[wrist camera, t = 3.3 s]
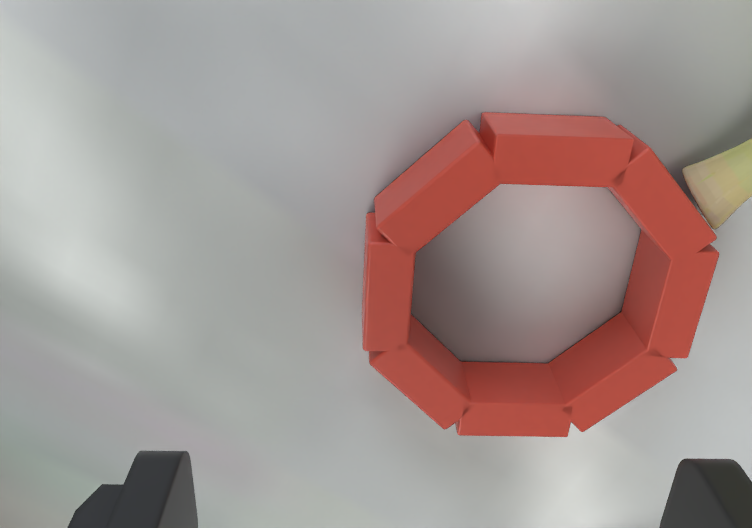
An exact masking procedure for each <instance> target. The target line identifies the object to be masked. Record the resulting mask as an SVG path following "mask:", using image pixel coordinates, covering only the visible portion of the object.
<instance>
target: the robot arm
mask: <svg viewBox="0 0 752 528" xmlns="http://www.w3.org/2000/svg"><path fill="white" fill-rule="evenodd" d="M68 528H198V518H197V509H196V501H195V493H194V485H193V477H192V468H191V461H190V456H189V453H188V452H187V451H140V452H139V453H138V454H137V455H136V457H135V459H134V461H133V464H132V466H131V468H130V471H129V473H128V475H127V478H126V480H125V483H124V485H109V484H102V485H101V486H100V487H99V488H98V489H97V490H96V491H95V492H94V493H93V494H92V495H91V496H90V497H89V498H88V499H87V500H86V501H85V502H84V503H83V504H82V505H81V506H80V507H79V508H78V509H77V510H76V511H75V513H74V515H73V517H72V519H71V521H70V523H69V526H68ZM660 528H752V482H751V480H750V479H749V477H748V476H747V475H746V473H745V472H744V470H743V469H742V468H741V466H740V465H739V464H738V463H737V462H736V461H734V460H731V459H684V460H682V461H681V462H680V464H679V465H678V468H677V471H676V474H675V477H674V480H673V484H672V487H671V490H670V494H669V497H668V500H667V503H666V507H665V510H664V513H663V516H662V520H661V523H660Z"/></svg>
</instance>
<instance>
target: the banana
mask: <svg viewBox="0 0 752 528" xmlns="http://www.w3.org/2000/svg"><path fill="white" fill-rule="evenodd" d="M682 172H683V176H684V179H685V182H686V184H687V186H688V188H689V190H690V192H691V194H692V196H693V198H694V199H695V201H696V203H697V205H698V207H699V208H700V210H701V212H702V214H703V215H704V217H705V218H706V220H707V221H708V223H709V224H710V225H711V227H712V228H713V229H717V228H718V227H719V226H721V225H722V224H723V223H724V222H725V221H726V220H727V219H728V218H729V217H730V216H731V215H732V214H733V213H734V211H735V210H736V209H738V208H739V207H740V206H741V205H742V204H743V203H744V202H745V201H746V200H747V199H748V198H750V197H751V196H752V138H751V139H749V140H747V141H746V142H744V143H742V144H740V145H738V146H736V147H734V148H732V149H729V150H727V151H725V152H722V153H720V154H718V155H715V156H713V157H711V158H708V159H706V160H703V161H701V162H698V163H695V164H692V165H689V166H687V167H685V168H683V170H682Z"/></svg>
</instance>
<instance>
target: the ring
mask: <svg viewBox="0 0 752 528" xmlns="http://www.w3.org/2000/svg"><path fill="white" fill-rule="evenodd" d="M499 184H525V185H556V186H586V187H608V188H609V189H610V191H611V192H612V193H613V194H614V196H615V197H616V198H617V199H618V201H619V202H620V203H621V204H622V206H623V207H624V208H625V209H626V211H627V212H628V213H629V214H630V216H631V217H632V218H633V219H634V221H635V222H636V223H637V224H638V226H639V227H640V228H641V233H640V237H639V242H638V246H637V250H636V254H635V258H634V262H633V266H632V270H631V274H630V278H629V283H628V287H627V291H626V295H625V299H624V303H623V307H622V311H621V312H620V313H619V314H618V315H616V316H615V317H613V318H612V319H610V320H609V321H608V322H606V323H605V324H603V325H602V326H600V327H599V328H598V329H596V330H595V331H593V332H592V333H590V334H589V335H588V336H586V337H585V338H583V339H582V340H580V341H579V342H578V343H576V344H575V345H573V346H572V347H571V348H569V349H568V350H566V351H565V352H563V353H562V354H561V355H559V356H558V357H556V358H555V359H553V360H552V361H551V362H549V363H507V362H461V361H460V360H459V359H458V358H456V357H455V356H454V355H453V354H452V353H451V352H450V351H449V350H448V349H447V348H446V347H445V346H444V345H443V344H442V343H441V342H440V341H439V340H438V339H436V338H435V337H434V336H433V335H432V334H431V333H430V332H429V331H428V330H427V329H426V328H425V327H424V326H423V325H422V324H421V323H420V322H419V321H417V320H416V319H415V318H414V317H413V316H412V315H411V305H412V293H413V280H414V268H415V255H416V252H417V251H418V250H420V249H421V248H422V247H423V246H425V245H426V244H427V243H428V242H429V241H431V240H432V239H433V238H434V237H436V236H437V235H438V234H439V233H440V232H442V231H443V230H444V229H445V228H447V227H448V226H449V225H450V224H451V223H453V222H454V221H455V220H456V219H458V218H459V217H460V216H461V215H463V214H464V213H465V212H466V211H467V210H469V209H470V208H471V207H472V206H474V205H475V204H476V203H477V202H478V201H480V200H481V199H482V198H483V197H485V196H486V195H487V194H488V193H490V192H491V191H492V190H493V189H494V188H496V187H497V186H498V185H499ZM374 204H375V213H367V215H366V229H365V252H364V276H363V300H362V334H363V349H364V350H365V351H369V363H370V365H371V366H372V367H374V368H375V369H376V370H377V371H378V372H379V373H380V374H382V375H383V376H384V377H385V378H386V379H387V380H388V381H390V382H391V383H392V384H393V385H394V386H395V387H396V388H397V389H399V390H400V391H401V392H402V393H403V394H404V395H405V396H407V397H408V398H409V399H410V400H411V401H412V402H413V403H414V404H416V405H417V406H418V407H419V408H420V409H421V410H422V411H424V412H425V413H426V414H427V415H428V416H429V417H430V418H432V419H433V420H434V421H435V422H436V423H437V424H438V425H439V426H441V427H442V428H443V429H447V428H448V427H450V426H451V425H453V424H454V423H455V424H456V429H457V433H458V435H472V436H541V437H567V436H568V432H569V428H570V423H571V422H572V423H573V424H574V425H575V426H576V427H577V428H578V429H579V430H580V431H581V432H584V431H585V430H587V429H588V428H590V427H591V426H593V425H594V424H596V423H597V422H599V421H600V420H602V419H604V418H605V417H607V416H608V415H610V414H611V413H613V412H614V411H616V410H617V409H619V408H620V407H622V406H623V405H625V404H626V403H628V402H630V401H631V400H633V399H634V398H636V397H637V396H639V395H640V394H642V393H643V392H645V391H646V390H648V389H649V388H651V387H652V386H654V385H656V384H657V383H659V382H660V381H662V380H663V379H665V378H666V377H668V376H669V375H671V374H672V373H674V372H675V371H677V367H676V366H675V365H674V363H673V362H672V360H671V359H670V358H687V357H688V355H689V352H690V348H691V345H692V342H693V339H694V335H695V332H696V329H697V326H698V322H699V319H700V316H701V312H702V309H703V306H704V303H705V299H706V296H707V293H708V290H709V286H710V283H711V280H712V277H713V273H714V270H715V267H716V264H717V260H718V257H719V252H718V251H717V250H716V249H715V248H714V247H713V246H711V245H710V243H712V242H713V241H714V240H716V239H717V237H716V235H715V233H714V232H713V231H712V229H711V228H710V227H709V225H708V224H707V223H706V221H705V220H704V219H703V217H702V216H701V215H700V213H699V212H698V211H697V209H696V208H695V207H694V205H693V204H692V203H691V201H690V200H689V199H688V197H687V196H686V195H685V193H684V192H683V190H682V189H681V188H680V186H679V185H678V184H677V182H676V181H675V180H674V178H673V177H672V176H671V174H670V173H669V172H668V170H667V169H666V168H665V166H664V165H663V164H662V162H661V161H660V160H659V158H658V157H657V156H656V154H655V153H654V152H653V150H652V149H651V148H650V147H649V146H648V145H646V144H645V143H644V142H643V141H641V140H640V139H639V138H637V137H636V136H635V135H633V134H632V133H631V132H630V131H628V130H627V129H626V128H624V127H623V126H622V125H618V126H616V125H615V124H614V123H612V122H611V121H610V120H608V119H607V118H606V117H596V116H569V115H543V114H516V113H490V112H484V113H482V115H481V124H480V132H478V131H477V130H476V129H475V128H474V126H473V125H472V124H471V123H470V122H469V121H468V120H464V121H463V122H461V123H460V124H459V125H458V126H457V127H456V128H454V129H453V130H452V131H451V132H450V133H449V134H447V135H446V136H445V137H444V138H443V139H442V140H441V141H439V142H438V143H437V144H436V145H435V146H434V147H432V148H431V149H430V150H429V151H428V152H427V153H426V154H424V155H423V156H422V157H421V158H420V159H419V160H417V161H416V162H415V163H414V164H413V165H412V166H411V167H409V168H408V169H407V170H406V171H405V172H404V173H402V174H401V175H400V176H399V177H398V178H397V179H396V180H394V181H393V182H392V183H391V184H390V185H389V186H387V187H386V188H385V189H384V190H383V191H382V192H381V193H379V194H378V195H377V196H376V197H375V199H374Z"/></svg>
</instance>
